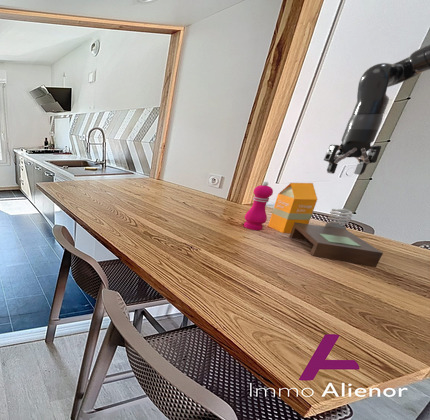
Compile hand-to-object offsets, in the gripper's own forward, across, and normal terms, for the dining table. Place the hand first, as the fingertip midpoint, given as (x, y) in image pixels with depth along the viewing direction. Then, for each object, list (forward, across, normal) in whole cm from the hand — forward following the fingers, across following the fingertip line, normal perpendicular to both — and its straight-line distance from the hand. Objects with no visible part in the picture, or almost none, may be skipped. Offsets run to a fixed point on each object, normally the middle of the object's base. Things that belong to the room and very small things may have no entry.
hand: (344, 173), depth 91 cm
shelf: (+24, -11, -18) cm, 32 cm away
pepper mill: (+24, -24, 0) cm, 35 cm away
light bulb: (+24, 0, -5) cm, 25 cm away
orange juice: (+24, -12, +1) cm, 27 cm away
